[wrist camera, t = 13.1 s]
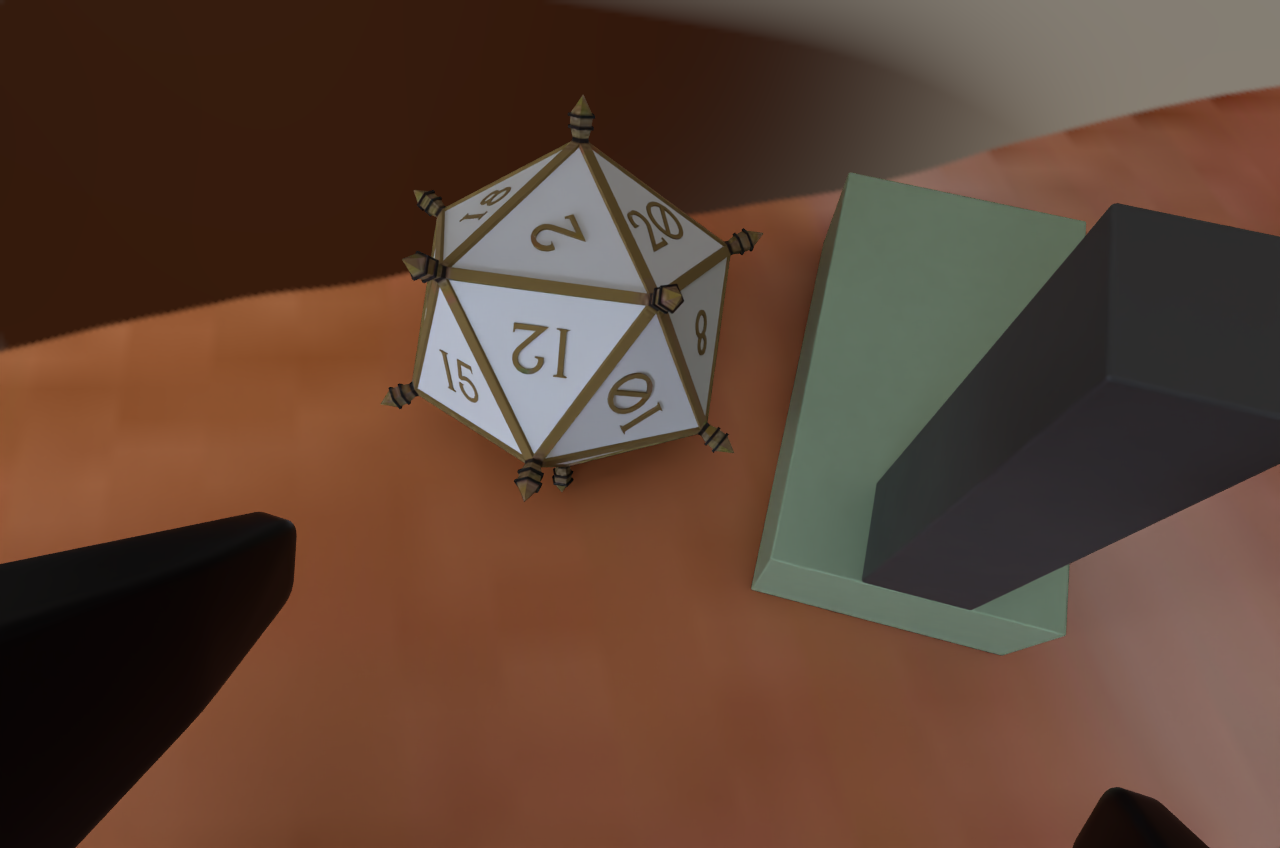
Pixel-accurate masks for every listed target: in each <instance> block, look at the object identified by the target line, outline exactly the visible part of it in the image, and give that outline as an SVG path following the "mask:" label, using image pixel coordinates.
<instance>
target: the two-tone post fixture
mask: <svg viewBox="0 0 1280 848" xmlns="http://www.w3.org/2000/svg"><path fill="white" fill-rule="evenodd" d="M1085 235H1086V222H1085V221H1080V220H1075V219H1071V218H1066V217H1061V216H1056V215H1051V214H1047V213H1042V212H1037V211H1032V210H1027V209H1023V208H1018V207H1013V206H1008V205H1004V204H999V203H994V202H989V201H984V200H980V199H975V198H970V197H965V196H960V195H956V194H951V193H946V192H941V191H937V190H932V189H927V188H922V187H917V186H913V185H908V184H903V183H898V182H894V181H889V180H884V179H879V178H874V177H870V176H865V175H859V174H855V173H849V174H848V176H847V179H846V182H845V185H844V187H843V190H842V193H841V196H840V199H839V201H838V204H837V207H836V210H835V212H834V215H833V218H832V221H831V224H830V226H829V229H828V232H827V235H826V238H825V240H824V243H823V248H822V253H821V258H820V262H819V267H818V272H817V277H816V281H815V286H814V291H813V296H812V300H811V305H810V310H809V315H808V320H807V324H806V329H805V334H804V339H803V343H802V348H801V353H800V358H799V362H798V367H797V372H796V377H795V381H794V386H793V391H792V396H791V401H790V405H789V410H788V415H787V420H786V424H785V429H784V434H783V439H782V443H781V448H780V453H779V458H778V462H777V467H776V472H775V477H774V482H773V486H772V491H771V496H770V501H769V505H768V510H767V515H766V520H765V524H764V529H763V534H762V539H761V543H760V548H759V553H758V558H757V563H756V567H755V572H754V577H753V582H752V586H751V589H752V590H755V591H759V592H763V593H766V594H770V595H774V596H778V597H782V598H785V599H789V600H793V601H797V602H801V603H804V604H808V605H812V606H816V607H820V608H823V609H827V610H831V611H835V612H839V613H842V614H846V615H850V616H854V617H857V618H861V619H865V620H869V621H873V622H876V623H880V624H884V625H888V626H892V627H895V628H899V629H903V630H907V631H911V632H914V633H918V634H922V635H926V636H930V637H933V638H937V639H941V640H945V641H949V642H952V643H956V644H960V645H964V646H967V647H971V648H975V649H979V650H983V651H986V652H990V653H994V654H998V655H1005V654H1008V653H1012V652H1015V651H1018V650H1021V649H1024V648H1028V647H1031V646H1034V645H1037V644H1040V643H1044V642H1047V641H1050V640H1053V639H1056V638H1060V637H1063V636H1065V635H1066V623H1067V602H1068V582H1069V564H1070V563H1072V562H1074V561H1076V560H1078V559H1081V558H1083V557H1085V556H1087V555H1089V554H1091V553H1093V552H1095V551H1097V550H1099V549H1102V548H1104V547H1106V546H1108V545H1110V544H1112V543H1114V542H1116V541H1118V540H1121V539H1123V538H1125V537H1127V536H1129V535H1131V534H1133V533H1135V532H1137V531H1139V530H1142V529H1144V528H1146V527H1148V526H1150V525H1152V524H1154V523H1156V522H1158V521H1160V520H1163V519H1165V518H1167V517H1169V516H1171V515H1173V514H1175V513H1177V512H1179V511H1182V510H1184V509H1186V508H1188V507H1190V506H1192V505H1194V504H1196V503H1198V502H1200V501H1203V500H1205V499H1207V498H1209V497H1211V496H1213V495H1215V494H1217V493H1219V492H1222V491H1224V490H1226V489H1228V488H1230V487H1232V486H1234V485H1236V484H1238V483H1240V482H1243V481H1245V480H1247V479H1249V478H1251V477H1253V476H1255V475H1257V474H1259V473H1261V472H1264V471H1266V470H1268V469H1270V468H1272V467H1274V466H1276V465H1278V464H1280V237H1279V236H1274V235H1269V234H1264V233H1259V232H1254V231H1249V230H1245V229H1240V228H1235V227H1230V226H1225V225H1220V224H1215V223H1211V222H1206V221H1201V220H1196V219H1191V218H1186V217H1182V216H1177V215H1172V214H1167V213H1162V212H1157V211H1152V210H1148V209H1143V208H1138V207H1133V206H1128V205H1123V204H1118V203H1116V204H1112V205H1111V206H1110V207H1109V208H1108V210H1107V211H1106V212H1105V213H1104V214H1103V216H1102V217H1101V218H1100V219H1099V220H1098V222H1097V223H1096V224H1095V225H1094V226H1093V227H1092V229H1091V230H1090V231H1089V232H1088V233H1087V235H1086V236H1085Z"/></svg>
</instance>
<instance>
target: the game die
mask: <svg viewBox="0 0 1280 848" xmlns="http://www.w3.org/2000/svg"><path fill="white" fill-rule="evenodd" d="M568 116H570V117H571V118H570V124H569V125H568V128H571V131H572V135H573V138H572V141H571V142H569V143H567V144H565V145H563V146H561V147H560V148H558V149H556V150H554V151H552V152H550V153H548V154H547V155H544V156H543V157H541V158H539V159H537V160H535V161H533V162H531V163H529V164H527V165H525V166H523V167H522V168H520V169H518V170H516V171H514V172H512V173H510V174H508V175H506V176H505V177H503V178H501V179H499V180H497V181H495V182H493V183H491V184H489V185H487V186H485V187H484V188H482V189H480V190H478V191H476V192H474V193H472V194H470V195H468V196H466V197H465V198H463V199H461V200H459V201H457V202H455V203H453V204H452V205H449V206H447V207H445V206H444V204H443V203H442V201H441V200H442V198H441V197H437V196H436V195H435V191H434V190H432V191H418V190H414V193H415V196H416V199H417V202H418V203H417V206H418V207H419V208H420V209H421V210H425V212H426V213H427V214H428V215H429V216H431V215H433V216H435V217H437V222H436V229H435V235H434V241H433V248H432V254H431V257H430V256H428V255H426V254H424V253H421V252H419V251H416V253H415V254H414V255H412V256H409V257H407V258H404V259H403V262H404V263H405V265H406V266H407V268H408V270H409V271H410V274H411V277H412V280H417V279H421V280H422V282H423V283H426V282H427V287H426V294H425V300H424V307H423V313H422V320H421V326H420V333H419V340H418V346H417V353H416V359H415V366H414V372H413V379H412V382H411V383H410V384H406V385H403V384H398V387H395V388H392V387H389V392H388V393H387V395H386V396H385V398H384V400H383V401H382V403H381V404H382V405H388V406H395V407H398V408H399V409H401V408H402V406H403V405H404V404H406V403H407V404H408V405H409V404H411V400H412V399H413V398H414V397H416V396H420V397H422V398H423V399H425V400H427V401H428V402H430V403H431V404H433V405H434V406H436V407H438V408H439V409H441V410H442V411H444V412H445V413H447V414H449V415H450V416H452V417H453V418H455V419H456V420H458V421H460V422H461V423H463V424H464V425H466V426H467V427H469V428H471V429H472V430H474V431H475V432H477V433H478V434H480V435H482V436H483V437H485V438H486V439H488V440H489V441H491V442H493V443H494V444H496V445H497V446H499V447H500V448H502V449H504V450H505V451H507V452H508V453H510V454H511V455H513V456H515V457H516V458H518V459H519V460H521V461H522V462H524V463H525V465H524V466H523V468H522V469H519V470H518V474H519V477H518V479H515V480H514V482H515V483H516V485H517V486H518V487H519V490H520V492H521V495H522V498H523V500H524V502H525V501H526V500H527V499H528V498H529V497H530V496H531V495H533V494H534V493H538V491H539V489H540V488H541V486H542V483H541V482H540V481H541V479H542V477H543V475H544V473H542V472H541V467H556V468H554V469H553V472H554V476H552V478H553V483H554V485H556V486H557V487H558V488H559V490H560V491H561V492H562V491H563V490H564V489H565V488H566V487H567V486H568V485H569V484H570V483H571V482H572V481H573V478H571V475H572V474H573V471H572V470H571V469H570V466H572V465H576V464H580V463H584V462H588V461H592V460H596V459H600V458H604V457H608V456H612V455H616V454H620V453H624V452H628V451H632V450H636V449H640V448H644V447H648V446H652V445H656V444H660V443H664V442H668V441H672V440H676V439H680V438H684V437H688V436H692V435H696V434H699V435H701V436H702V438H703V439H704V441H705V442H706V443H705V445H707V444H708V445H709V446H710V447H711V448H712V449H713V450H712V452H713V453H714V451H721V452H729V453H734V451H733V449H732V446H731V444H730V441H729V439H728V435H729V434H727V433H726V434H724V433H723V432H722V431H720V429H721V428H719V427H718V428H715V427H713V426H711V425H709V423H708V414H709V407H710V400H711V393H712V385H713V378H714V371H715V364H716V356H717V349H718V342H719V334H720V327H721V320H722V313H723V305H724V298H725V291H726V283H727V276H728V269H729V262H730V256H731V255H732V254H739V253H740V254H741V255H743V254H744V252H745V251H748V250H750V252H751V251H753V248H754V245H755V244H756V243H757V241H758V240H759V239H760V237H761V236H762V235H763V233H760V232H753V231H746V230H745V229H744V228H743V229H742V232H740V233H738V234H736V233H734V234H733V237H732V238H731V239H730V240H729V241H725V242H724V241H722V240H721V239H720V238H718V237H717V236H715V235H714V234H713V233H711V232H710V231H709V230H707V229H706V228H705V227H703V226H702V225H701V224H699V223H698V222H696V221H695V220H694V219H692V218H691V217H690V216H688V215H687V214H686V213H684V212H683V211H681V210H680V209H679V208H677V207H676V206H675V205H673V204H672V203H671V202H669V201H668V200H667V199H665V198H664V197H662V196H661V195H660V194H658V193H657V192H656V191H654V190H653V189H652V188H650V187H649V186H647V185H646V184H645V183H643V182H642V181H641V180H639V179H638V178H637V177H635V176H634V175H633V174H631V173H630V172H629V171H627V170H626V169H624V168H623V167H622V166H620V165H619V164H618V163H616V162H615V161H614V160H612V159H611V158H609V157H608V156H607V155H605V154H604V153H602V152H601V151H600V150H599V149H597V148H596V147H595V146H593V145H592V144H590V143H589V140H588V138H589V135H590V132H591V130H593V126H592V119H594V118H595V116H594V114H593V113H591V111H590V109H589V106H588V104H587V102H586V99H585V97H584V95H583V96H582V97H581V98H580V100H579V101H578V103H577V104H576V106H575V107H574V109H573V110H572V112H570V113H568Z"/></svg>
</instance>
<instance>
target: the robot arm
mask: <svg viewBox="0 0 1280 848" xmlns="http://www.w3.org/2000/svg"><path fill="white" fill-rule="evenodd" d="M296 537H297V536H296V528H295V526H294V524H293V523H292V522H291V521H289V520H286V519H283V518H280V517H277V516H273V515H270V514H267V513H264V512H254V513H249V514H244V515H239V516H234V517H229V518H225V519H220V520H215V521H210V522H205V523H200V524H195V525H190V526H185V527H180V528H176V529H171V530H166V531H161V532H156V533H151V534H146V535H141V536H136V537H131V538H126V539H122V540H117V541H112V542H107V543H102V544H97V545H92V546H87V547H82V548H77V549H72V550H68V551H63V552H58V553H53V554H48V555H43V556H38V557H33V558H28V559H23V560H19V561H14V562H9V563H4V564H0V848H76V847H77V845H78V844H79V843H80V842H81V841H82V840H83V839H84V838H85V837H86V836H87V835H88V834H89V833H90V832H91V830H92V829H93V828H94V827H95V826H96V825H97V824H98V823H99V822H100V821H101V820H102V819H103V818H104V817H105V816H106V814H107V813H108V812H109V811H110V810H111V809H112V808H113V807H114V806H115V805H116V804H117V803H118V802H119V801H120V799H121V798H122V797H123V796H124V795H125V794H126V793H127V792H128V791H129V790H130V789H131V788H132V787H133V786H134V785H135V783H136V782H137V781H138V780H139V779H140V778H141V777H142V776H143V775H144V774H145V773H146V772H147V771H148V770H149V768H150V767H151V766H152V765H153V764H154V763H155V762H156V761H157V760H158V759H159V758H160V757H161V756H162V755H163V754H164V752H165V751H166V750H167V749H168V748H169V747H170V746H171V745H172V744H173V743H174V742H175V741H176V740H177V739H178V737H179V736H180V735H181V734H182V733H183V732H184V731H185V730H186V729H187V728H188V727H189V726H190V724H191V723H192V722H193V721H194V720H195V719H196V718H197V717H198V715H199V714H200V713H201V712H202V711H203V710H204V709H205V707H206V706H207V705H208V704H209V702H210V701H211V700H212V699H213V697H214V696H215V695H216V694H217V692H218V691H219V690H220V689H221V687H222V686H223V685H224V683H225V682H226V681H227V679H228V678H229V677H230V675H231V674H232V673H233V671H234V670H235V669H236V668H237V666H238V665H239V664H240V662H241V661H242V660H243V658H244V657H245V656H246V654H247V653H248V652H249V651H250V649H251V648H252V647H253V645H254V644H255V643H256V641H257V640H258V639H259V637H260V636H261V635H262V633H263V632H264V631H265V630H266V628H267V627H268V626H269V624H270V623H271V622H272V620H273V619H274V618H275V616H276V615H277V614H278V613H279V611H280V610H281V609H282V607H283V606H284V604H285V603H286V601H287V599H288V598H289V596H290V593H291V591H292V587H293V582H294V568H295V552H296ZM1073 848H1209V847H1208V846H1207V845H1206V844H1205V843H1204V842H1203V841H1201V840H1200V839H1199V838H1198V837H1197V836H1196V835H1195V834H1194V833H1193V832H1192V831H1191V830H1190V829H1189V828H1187V827H1186V826H1185V825H1184V824H1183V823H1182V822H1181V821H1180V820H1179V819H1178V818H1177V817H1176V816H1175V815H1173V814H1172V813H1171V812H1170V811H1169V810H1168V809H1167V808H1166V807H1165V806H1164V805H1163V804H1161V803H1160V802H1159V801H1157V800H1155V799H1153V798H1151V797H1148V796H1145V795H1142V794H1139V793H1135V792H1132V791H1129V790H1126V789H1123V788H1120V787H1115V788H1110V789H1108V790H1107V791H1106V792H1105V793H1104V794H1103V795H1102V797H1101V798H1100V800H1099V801H1098V803H1097V805H1096V806H1095V808H1094V810H1093V812H1092V813H1091V815H1090V817H1089V818H1088V820H1087V822H1086V823H1085V825H1084V827H1083V828H1082V830H1081V832H1080V833H1079V835H1078V837H1077V838H1076V840H1075V843H1074V845H1073Z"/></svg>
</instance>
